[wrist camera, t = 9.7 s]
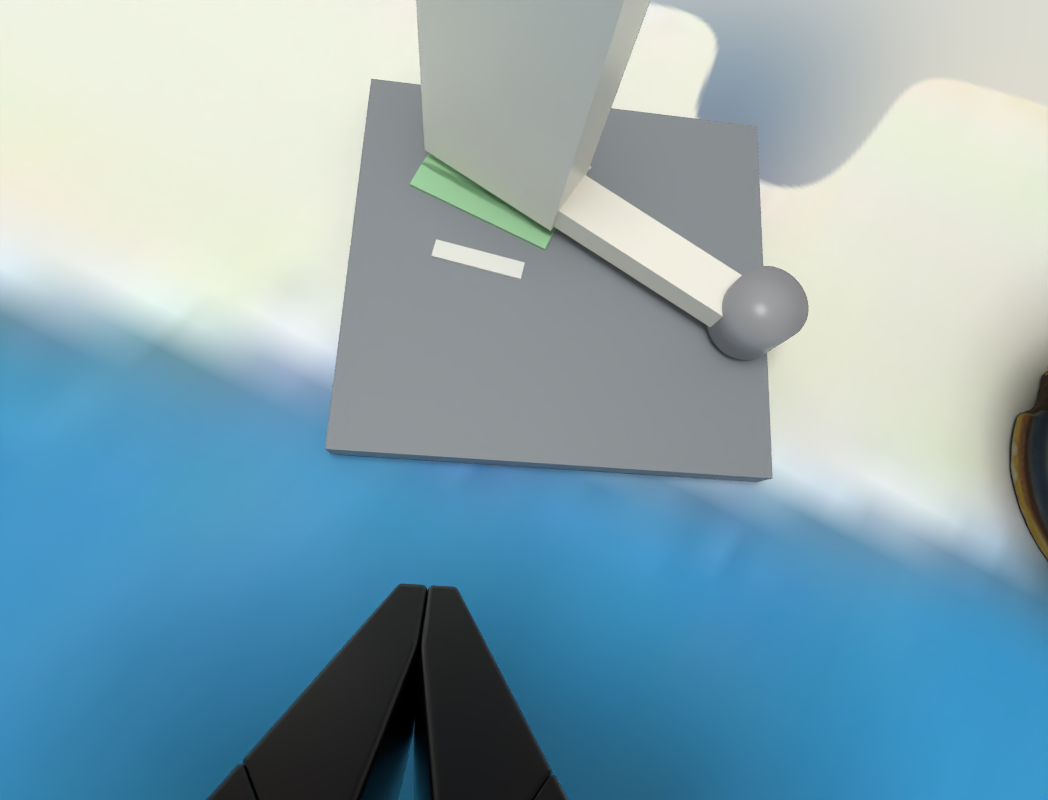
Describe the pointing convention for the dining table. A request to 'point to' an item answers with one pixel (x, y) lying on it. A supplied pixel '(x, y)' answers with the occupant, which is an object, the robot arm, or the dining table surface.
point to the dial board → (544, 312)
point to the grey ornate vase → (1033, 466)
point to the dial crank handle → (576, 149)
